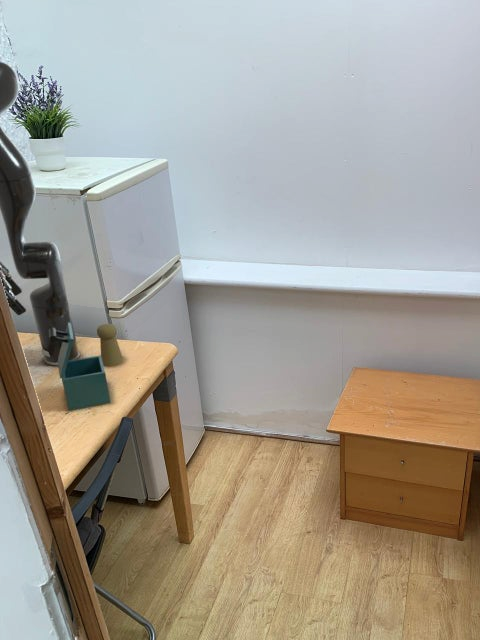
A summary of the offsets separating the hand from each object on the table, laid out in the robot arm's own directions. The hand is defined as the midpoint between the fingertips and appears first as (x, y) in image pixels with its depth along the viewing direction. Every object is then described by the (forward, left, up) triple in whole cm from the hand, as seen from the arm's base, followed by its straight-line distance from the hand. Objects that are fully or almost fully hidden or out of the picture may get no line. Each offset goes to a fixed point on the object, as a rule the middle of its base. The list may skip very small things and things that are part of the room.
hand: (20, 302), depth 140 cm
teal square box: (+2, +10, -26) cm, 28 cm away
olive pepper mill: (-16, +18, -27) cm, 36 cm away
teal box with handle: (+2, +8, -13) cm, 15 cm away
